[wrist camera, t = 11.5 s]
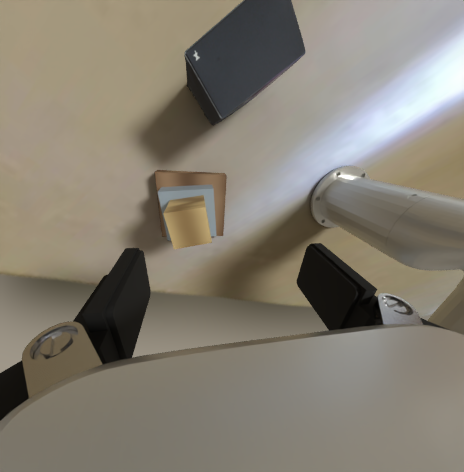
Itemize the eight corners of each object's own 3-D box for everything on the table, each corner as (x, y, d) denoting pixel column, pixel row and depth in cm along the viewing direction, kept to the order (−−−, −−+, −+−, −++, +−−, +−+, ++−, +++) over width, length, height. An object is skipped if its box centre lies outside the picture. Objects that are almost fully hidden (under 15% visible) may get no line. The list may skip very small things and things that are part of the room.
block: (203, 194, 27) (205, 207, 22) (209, 225, 30) (211, 242, 24) (169, 200, 27) (163, 213, 21) (178, 230, 29) (174, 249, 24)
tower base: (224, 172, 32) (226, 175, 29) (221, 229, 37) (223, 235, 34) (158, 169, 30) (154, 172, 27) (164, 229, 35) (162, 236, 32)
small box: (213, 129, 28) (221, 123, 19) (185, 83, 25) (179, 50, 16) (270, 83, 27) (309, 54, 18) (248, 29, 24) (281, -41, 15)
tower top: (212, 184, 30) (213, 188, 27) (214, 228, 33) (216, 236, 31) (161, 187, 29) (157, 191, 26) (170, 232, 32) (167, 240, 30)
